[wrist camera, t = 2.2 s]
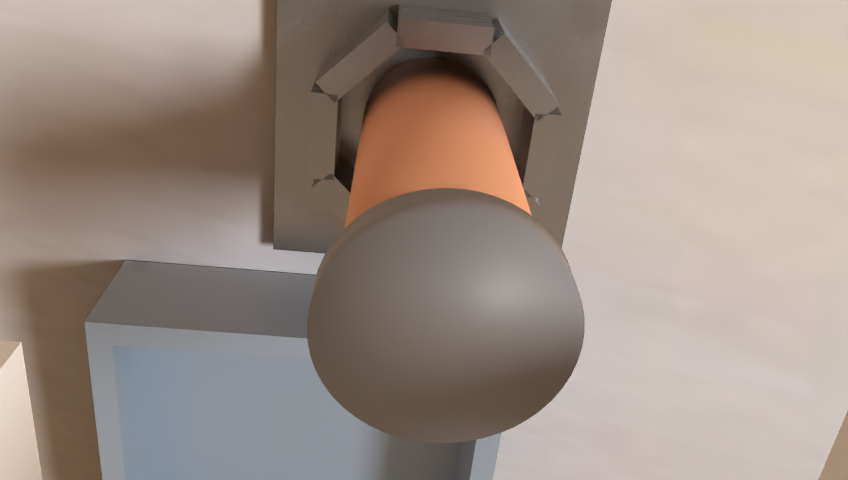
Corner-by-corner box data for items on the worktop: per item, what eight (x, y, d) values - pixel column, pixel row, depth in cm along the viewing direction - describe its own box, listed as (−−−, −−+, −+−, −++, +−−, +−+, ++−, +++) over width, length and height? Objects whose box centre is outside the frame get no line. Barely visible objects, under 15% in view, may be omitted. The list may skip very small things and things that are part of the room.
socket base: (280, -57, 23) (266, -45, 21) (612, -22, 24) (632, -7, 22) (275, 242, 28) (263, 277, 26) (554, 265, 28) (566, 301, 26)
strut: (355, 37, 24) (311, 199, 13) (523, 53, 24) (610, 224, 14) (345, 192, 27) (302, 434, 16) (499, 205, 27) (557, 451, 16)
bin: (125, 260, 28) (84, 322, 25) (502, 289, 29) (515, 353, 25) (148, 533, 34) (117, 614, 31) (458, 551, 35) (464, 632, 32)
